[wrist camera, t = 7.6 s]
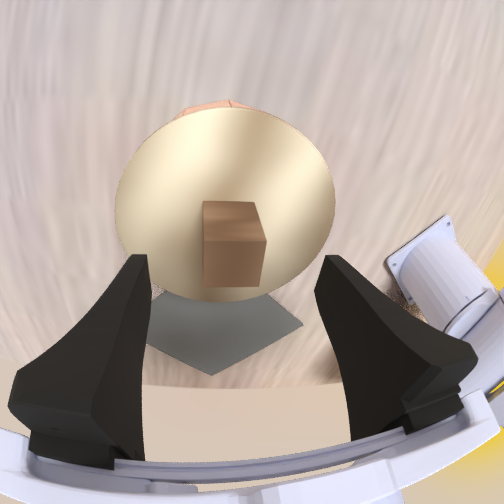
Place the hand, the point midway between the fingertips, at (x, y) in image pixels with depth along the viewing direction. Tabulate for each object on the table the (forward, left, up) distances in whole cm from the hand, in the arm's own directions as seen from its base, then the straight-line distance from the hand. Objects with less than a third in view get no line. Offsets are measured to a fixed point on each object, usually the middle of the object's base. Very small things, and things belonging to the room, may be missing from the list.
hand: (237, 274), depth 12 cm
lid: (0, 0, -5) cm, 5 cm away
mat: (-11, +11, -10) cm, 18 cm away
